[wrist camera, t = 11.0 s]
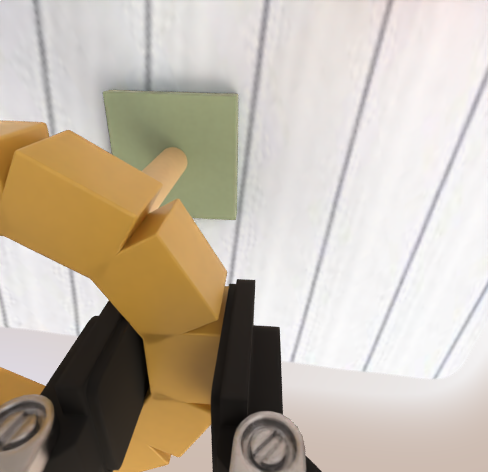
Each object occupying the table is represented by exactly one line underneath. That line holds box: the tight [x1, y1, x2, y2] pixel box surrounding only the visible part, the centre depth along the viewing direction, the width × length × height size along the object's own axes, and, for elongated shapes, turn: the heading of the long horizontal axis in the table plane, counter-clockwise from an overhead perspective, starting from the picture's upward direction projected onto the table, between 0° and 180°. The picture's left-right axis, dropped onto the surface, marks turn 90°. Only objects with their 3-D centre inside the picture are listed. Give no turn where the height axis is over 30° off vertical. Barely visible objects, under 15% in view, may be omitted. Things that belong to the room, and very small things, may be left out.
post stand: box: [103, 90, 238, 220], centre depth 21 cm, size 9×9×13 cm
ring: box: [0, 121, 229, 472], centre depth 10 cm, size 11×11×2 cm
